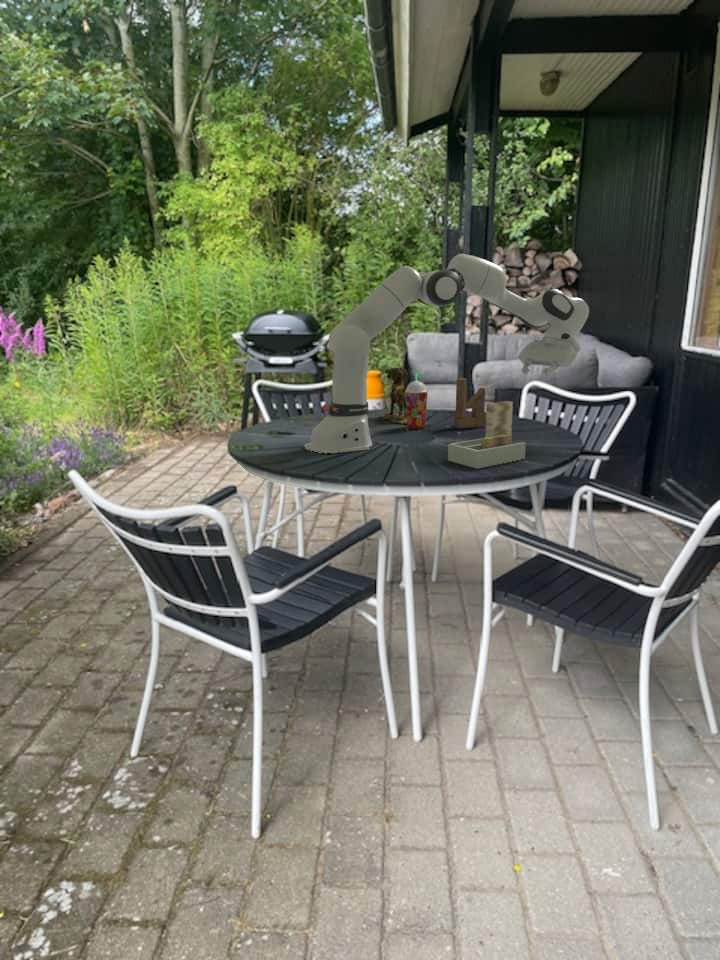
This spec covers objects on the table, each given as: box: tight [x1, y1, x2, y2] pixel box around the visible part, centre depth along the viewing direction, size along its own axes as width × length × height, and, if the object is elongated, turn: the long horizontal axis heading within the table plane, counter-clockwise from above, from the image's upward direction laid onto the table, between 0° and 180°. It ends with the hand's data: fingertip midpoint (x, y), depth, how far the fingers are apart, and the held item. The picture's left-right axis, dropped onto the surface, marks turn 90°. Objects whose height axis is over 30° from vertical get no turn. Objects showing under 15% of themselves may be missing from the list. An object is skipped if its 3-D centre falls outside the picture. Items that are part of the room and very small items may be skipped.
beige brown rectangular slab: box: [484, 400, 514, 438], centre depth 224 cm, size 9×3×14 cm, turn 124°
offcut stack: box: [481, 434, 512, 449], centre depth 204 cm, size 10×4×8 cm, turn 124°
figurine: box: [379, 367, 409, 426], centre depth 273 cm, size 13×25×20 cm, turn 9°
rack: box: [447, 437, 527, 470], centre depth 206 cm, size 19×13×5 cm, turn 124°
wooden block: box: [453, 377, 486, 430], centre depth 255 cm, size 4×11×18 cm, turn 109°
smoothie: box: [405, 372, 429, 430], centre depth 255 cm, size 8×8×20 cm
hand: (534, 373), depth 228 cm, fingers open, 8 cm apart
